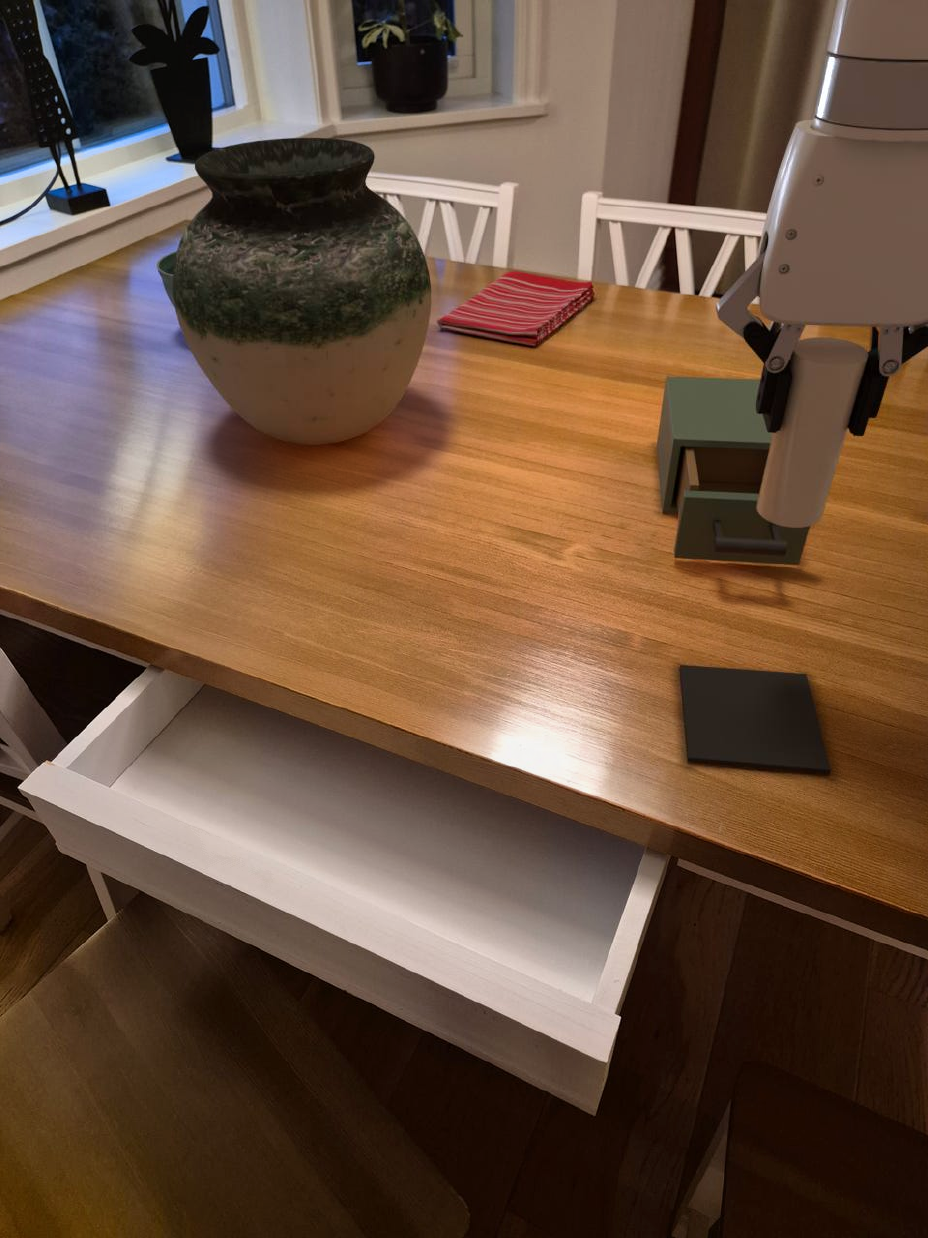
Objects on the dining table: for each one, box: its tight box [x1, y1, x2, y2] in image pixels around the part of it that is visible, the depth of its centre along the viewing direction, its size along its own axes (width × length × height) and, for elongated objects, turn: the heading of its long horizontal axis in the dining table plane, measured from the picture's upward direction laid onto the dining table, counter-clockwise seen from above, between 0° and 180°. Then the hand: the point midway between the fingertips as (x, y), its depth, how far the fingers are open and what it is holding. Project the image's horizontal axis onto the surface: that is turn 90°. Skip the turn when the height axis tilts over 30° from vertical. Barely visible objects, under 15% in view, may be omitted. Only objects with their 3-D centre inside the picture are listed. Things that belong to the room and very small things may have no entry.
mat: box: [678, 664, 832, 776], centre depth 64 cm, size 10×10×1 cm
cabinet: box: [656, 375, 773, 515], centre depth 89 cm, size 15×13×9 cm
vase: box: [173, 137, 432, 446], centre depth 94 cm, size 28×28×30 cm
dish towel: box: [436, 270, 596, 347], centre depth 131 cm, size 17×24×3 cm
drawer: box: [673, 446, 811, 566], centre depth 80 cm, size 18×11×7 cm, turn 172°
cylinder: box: [756, 336, 869, 528], centre depth 55 cm, size 4×4×12 cm
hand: (811, 422), depth 54 cm, fingers closed on cylinder, 4 cm apart
